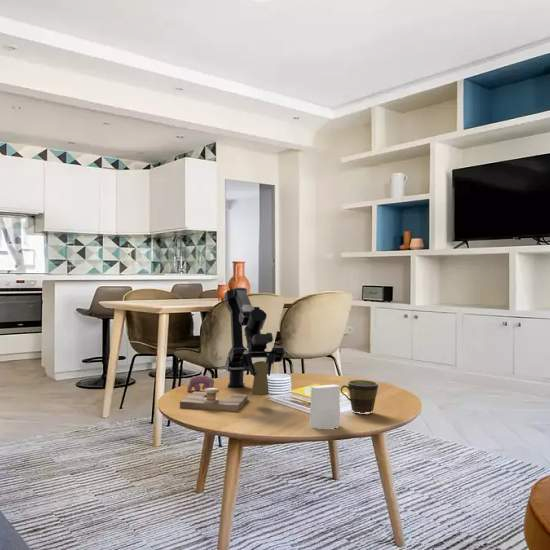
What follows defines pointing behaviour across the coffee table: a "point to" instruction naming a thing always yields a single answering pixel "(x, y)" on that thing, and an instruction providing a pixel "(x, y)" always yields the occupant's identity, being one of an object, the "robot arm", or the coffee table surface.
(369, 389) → the ceramic cup
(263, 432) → the coffee table surface
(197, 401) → the notched board
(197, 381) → the purple toy elephant
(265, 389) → the olive bulb shape
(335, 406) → the upright rounded white block
